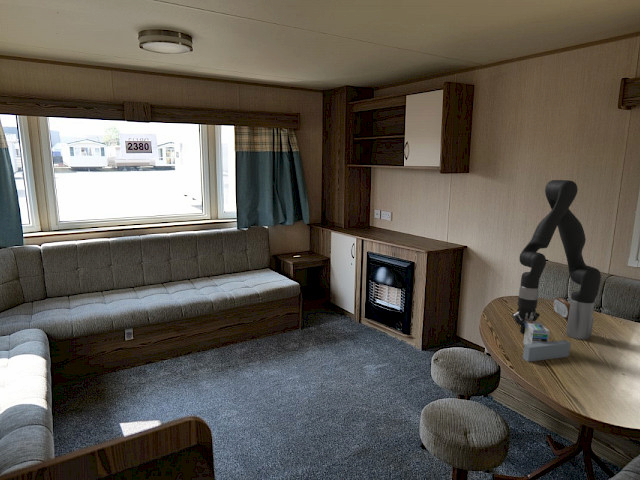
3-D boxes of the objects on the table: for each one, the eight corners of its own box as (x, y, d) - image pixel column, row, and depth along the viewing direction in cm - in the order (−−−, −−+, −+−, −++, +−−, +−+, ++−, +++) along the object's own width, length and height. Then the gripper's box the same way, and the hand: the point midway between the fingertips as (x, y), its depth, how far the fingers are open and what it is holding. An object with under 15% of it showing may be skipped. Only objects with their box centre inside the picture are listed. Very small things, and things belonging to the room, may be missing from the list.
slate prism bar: (563, 353, 181) (564, 339, 180) (568, 356, 178) (570, 342, 177) (522, 358, 176) (524, 344, 175) (527, 361, 173) (529, 347, 172)
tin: (572, 321, 217) (574, 305, 215) (566, 321, 217) (568, 305, 215) (556, 310, 231) (558, 295, 230) (551, 310, 231) (552, 295, 230)
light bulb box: (547, 355, 179) (550, 331, 177) (530, 354, 180) (533, 329, 177) (538, 344, 189) (541, 321, 187) (522, 343, 190) (525, 320, 188)
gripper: (534, 292, 192) (530, 329, 195) (509, 294, 189) (505, 331, 192) (547, 298, 185) (542, 335, 188) (521, 300, 182) (516, 338, 185)
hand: (523, 333), depth 190 cm, fingers closed
